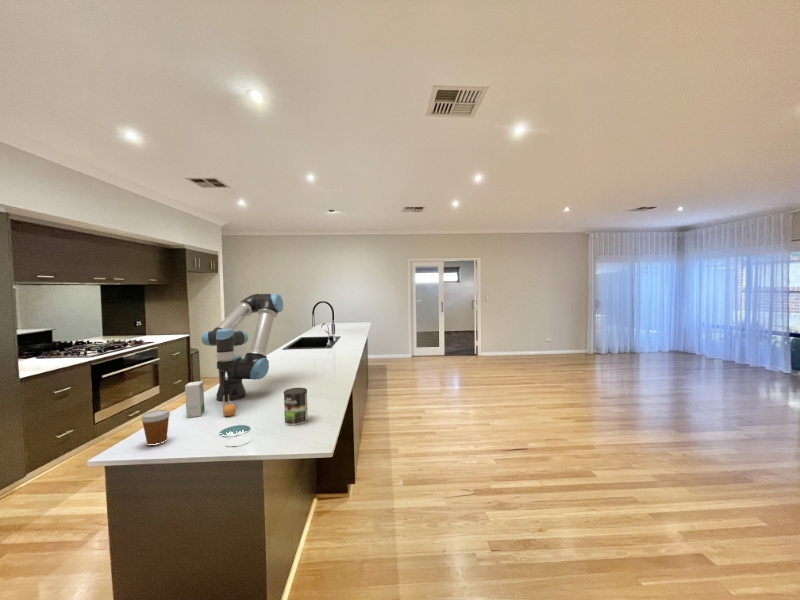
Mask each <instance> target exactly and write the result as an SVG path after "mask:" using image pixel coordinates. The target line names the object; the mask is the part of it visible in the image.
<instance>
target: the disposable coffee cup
mask: <svg viewBox="0 0 800 600" xmlns="http://www.w3.org/2000/svg"><path fill="white" fill-rule="evenodd" d="M170 415H171V412H169V410H168V409H156V410H152V411H148V412H145V413H143V414H142V416H141V419H140V421H141V422H142V425H143V430H144V436H145V439H146V444H147V443H148V444H156V443H161V442H163V441H165V440H166V439H167V440H168V429H169V419H170Z"/></svg>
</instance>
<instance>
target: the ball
mask: <svg viewBox="0 0 800 600" xmlns="http://www.w3.org/2000/svg"><path fill="white" fill-rule="evenodd" d="M236 410H237V409H236V406H235V405H234V404H231V403H229V404H228V405H226V406H225V407H224V409H223V408H222V413H223V415H224V416H226V417H232V416H233V415H234V414H235V412H236Z"/></svg>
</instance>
